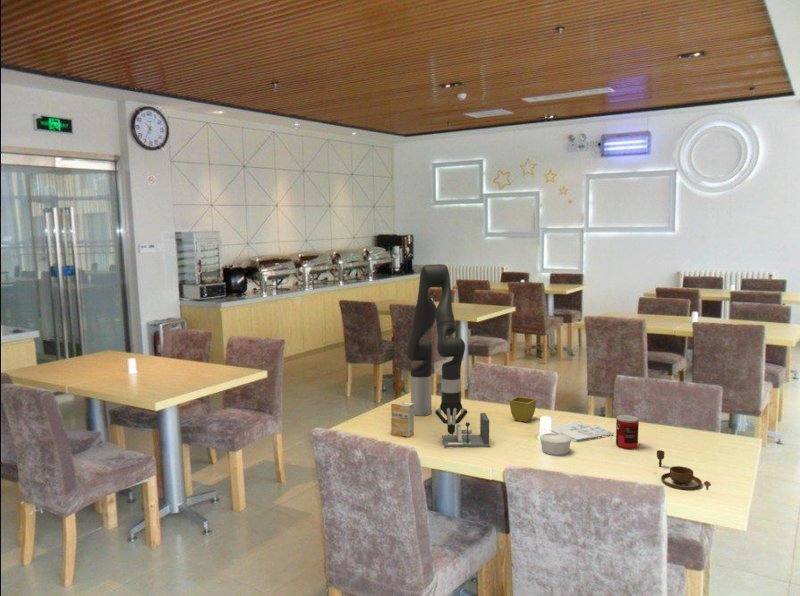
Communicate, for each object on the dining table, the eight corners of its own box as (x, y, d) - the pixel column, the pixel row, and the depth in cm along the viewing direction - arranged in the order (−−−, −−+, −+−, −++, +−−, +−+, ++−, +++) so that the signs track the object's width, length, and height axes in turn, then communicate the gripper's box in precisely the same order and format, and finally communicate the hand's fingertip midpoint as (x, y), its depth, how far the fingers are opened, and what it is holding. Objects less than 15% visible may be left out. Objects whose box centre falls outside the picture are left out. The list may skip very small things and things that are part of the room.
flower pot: (518, 416, 284) (518, 396, 283) (536, 419, 278) (536, 398, 278) (508, 421, 276) (509, 400, 276) (527, 424, 271) (528, 403, 270)
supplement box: (390, 435, 260) (390, 403, 258) (396, 431, 264) (395, 400, 262) (408, 437, 256) (408, 405, 254) (414, 434, 260) (414, 402, 259)
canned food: (621, 441, 249) (622, 413, 248) (641, 446, 243) (642, 417, 242) (611, 446, 243) (612, 417, 242) (632, 451, 238) (633, 422, 237)
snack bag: (575, 444, 248) (576, 438, 248) (543, 429, 266) (543, 424, 266) (614, 437, 256) (614, 431, 255) (580, 423, 274) (580, 418, 274)
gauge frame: (442, 437, 256) (441, 412, 254) (484, 436, 256) (484, 412, 255) (444, 447, 244) (444, 422, 243) (489, 447, 244) (489, 421, 243)
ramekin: (563, 445, 245) (563, 431, 245) (576, 455, 234) (576, 441, 234) (535, 447, 243) (535, 433, 243) (547, 457, 232) (547, 443, 232)
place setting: (649, 486, 206) (650, 469, 206) (654, 465, 224) (654, 449, 224) (710, 495, 199) (711, 477, 198) (710, 473, 217) (710, 456, 216)
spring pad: (456, 434, 254) (456, 422, 253) (470, 434, 254) (470, 422, 254) (458, 442, 244) (458, 429, 244) (473, 442, 244) (473, 429, 244)
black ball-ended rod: (465, 441, 246) (465, 421, 245) (469, 441, 246) (469, 421, 245) (465, 442, 244) (465, 422, 243) (470, 442, 244) (470, 422, 243)
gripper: (467, 387, 251) (467, 430, 253) (433, 387, 251) (433, 431, 253) (469, 391, 244) (469, 436, 246) (434, 392, 244) (434, 437, 245)
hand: (451, 433), depth 249 cm, fingers closed
